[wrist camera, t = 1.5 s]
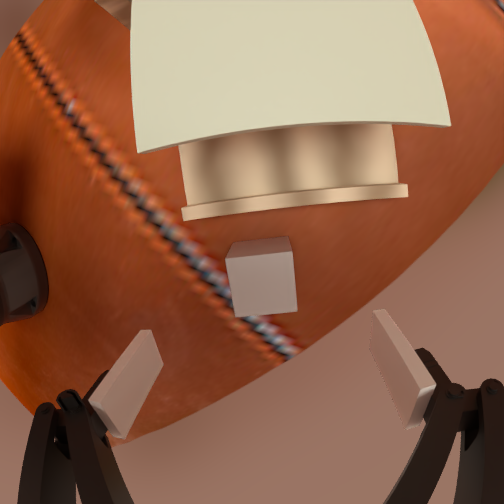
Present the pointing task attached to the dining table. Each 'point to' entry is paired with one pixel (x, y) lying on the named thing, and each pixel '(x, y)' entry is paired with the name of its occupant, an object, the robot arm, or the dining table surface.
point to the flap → (278, 67)
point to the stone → (262, 277)
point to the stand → (283, 163)
